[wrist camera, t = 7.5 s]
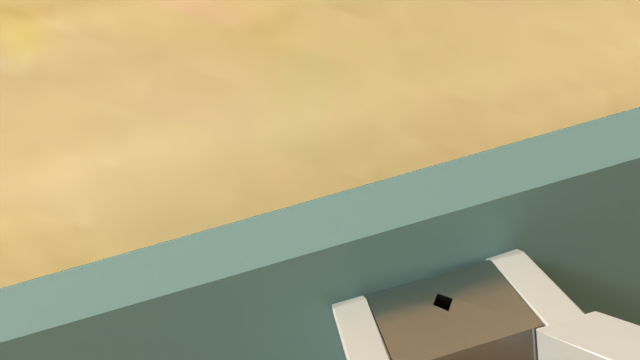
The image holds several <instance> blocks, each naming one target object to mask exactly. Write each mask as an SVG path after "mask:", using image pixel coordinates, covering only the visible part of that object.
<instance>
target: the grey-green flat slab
mask: <svg viewBox="0 0 640 360" xmlns="http://www.w3.org/2000/svg"><path fill="white" fill-rule="evenodd" d="M515 249H519V250H521V251H524V252H525V253H526V254H527V255H528V256H529V257H530V258H531V259H532V260H533V261H534V262H535V263H536V264H537V266H538V267H539V268H540V269H541V270H542V271H543V272H544V273H545V274H546V275H547V276H548V277H549V278H550V279H551V280H552V281H553V282H554V283H555V284H556V285H557V286H558V287H559V288H560V289H561V290H562V291H563V292H564V293H565V294H566V295H567V296H568V297H569V298H570V299H571V300H572V301H573V302H574V303H575V304H576V305H577V306H578V307H579V308H580V309H581V310H582V311H583V312H584V313H585V314H587V313H591V312H594V311H597V312H600V313H603V314H606V315H609V316H612V317H615V318H618V319H621V320H624V321H627V322H630V323H633V324H636V325H639V326H640V107H638V108H635V109H631V110H628V111H624V112H621V113H617V114H614V115H610V116H607V117H603V118H600V119H596V120H593V121H589V122H585V123H582V124H578V125H575V126H571V127H568V128H564V129H561V130H557V131H554V132H550V133H547V134H543V135H540V136H536V137H533V138H529V139H526V140H522V141H519V142H515V143H512V144H508V145H504V146H501V147H497V148H494V149H490V150H487V151H483V152H480V153H476V154H473V155H469V156H466V157H462V158H459V159H455V160H452V161H448V162H445V163H441V164H438V165H434V166H430V167H427V168H423V169H420V170H416V171H413V172H409V173H406V174H402V175H399V176H395V177H392V178H388V179H385V180H381V181H378V182H374V183H371V184H367V185H364V186H360V187H357V188H353V189H349V190H346V191H342V192H339V193H335V194H332V195H328V196H325V197H321V198H318V199H314V200H311V201H307V202H304V203H300V204H297V205H293V206H290V207H286V208H283V209H279V210H275V211H272V212H268V213H265V214H261V215H258V216H254V217H251V218H247V219H244V220H240V221H237V222H233V223H230V224H226V225H223V226H219V227H216V228H212V229H209V230H205V231H202V232H198V233H194V234H191V235H187V236H184V237H180V238H177V239H173V240H170V241H166V242H163V243H159V244H156V245H152V246H149V247H145V248H142V249H138V250H135V251H131V252H128V253H124V254H120V255H117V256H113V257H110V258H106V259H103V260H99V261H96V262H92V263H89V264H85V265H82V266H78V267H75V268H71V269H68V270H64V271H61V272H57V273H54V274H50V275H47V276H43V277H39V278H36V279H32V280H29V281H25V282H22V283H18V284H15V285H11V286H8V287H4V288H1V289H0V360H346V357H345V353H344V350H343V346H342V343H341V339H340V335H339V332H338V328H337V325H336V321H335V318H334V314H333V310H332V304H335V303H339V302H342V301H346V300H349V299H353V298H356V297H360V296H364V297H365V295H366V294H369V293H373V292H377V291H380V290H384V289H387V288H391V287H395V286H398V285H402V284H406V283H409V282H413V281H417V280H420V279H424V278H429V277H432V276H435V275H439V274H442V273H445V272H448V271H452V270H455V269H458V268H462V267H465V266H468V265H471V264H475V263H478V262H481V261H485V260H486V259H488V258H491V257H494V256H497V255H500V254H503V253H506V252H509V251H512V250H515Z"/></svg>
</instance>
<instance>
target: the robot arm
mask: <svg viewBox="0 0 640 360" xmlns="http://www.w3.org/2000/svg"><path fill="white" fill-rule="evenodd" d="M332 310H333V314H334V318H335V321H336V325H337V328H338V332H339V335H340V339H341V343H342V346H343V350H344V353H345V357H346V360H640V326H639V325H636V324H633V323H630V322H627V321H624V320H621V319H618V318H615V317H612V316H609V315H606V314H603V313H600V312H597V311H594V312H591V313H587V314H585V313H584V312H583V311H582V310H581V309H580V308H579V307H578V306H577V305H576V304H575V303H574V302H573V301H572V300H571V299H570V298H569V297H568V296H567V295H566V294H565V293H564V292H563V291H562V290H561V289H560V288H559V287H558V286H557V285H556V284H555V283H554V282H553V281H552V280H551V279H550V278H549V277H548V276H547V275H546V274H545V273H544V272H543V271H542V270H541V269H540V268H539V267H538V266H537V264H536V263H535V262H534V261H533V260H532V259H531V258H530V257H529V256H528V255H527V254H526V253H525V252H524V251H521V250H519V249H515V250H512V251H509V252H506V253H503V254H500V255H497V256H494V257H491V258H488V259H486V260H485V261H481V262H478V263H475V264H471V265H468V266H465V267H462V268H458V269H455V270H452V271H448V272H445V273H442V274H439V275H435V276H432V277H429V278H424V279H420V280H417V281H413V282H409V283H406V284H402V285H398V286H395V287H391V288H387V289H384V290H380V291H377V292H373V293H369V294H366V295H365V297H364V296H360V297H356V298H353V299H349V300H346V301H342V302H339V303H335V304H332Z"/></svg>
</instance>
